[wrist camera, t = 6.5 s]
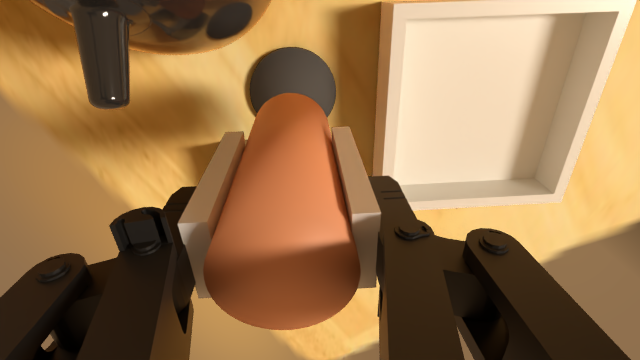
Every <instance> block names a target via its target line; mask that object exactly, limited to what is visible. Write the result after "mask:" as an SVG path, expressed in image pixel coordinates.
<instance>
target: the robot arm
mask: <svg viewBox="0 0 640 360" xmlns="http://www.w3.org/2000/svg"><path fill="white" fill-rule="evenodd" d="M332 145H333V149H334V154H335V158H336V163H337V167H338V172H339V176H340V181H341V185H342V190H343V194H344V199H345V204H346V208H347V213H348V217H349V222H350V226H351V231H352V234H353V236H354V240H355V244H356V248H357V252H358V257H359V261H360V269H361V274H360V281H359V285H358V288H373V287H376V280H377V278H378V281H379V285H380V290H379V303H378V317H379V349H380V360H465V359H464V355H463V351H462V347H461V343H460V338H459V334H458V330H457V327H458V329H459V331H460V333H461V335H462V337H463V339H464V341H465V342H466V344H467V346H468V348H469V350H470V352H471V354H472V356H473V358H474V359H475V360H631V359H630V358H629V357H628V356H627V355H626V354H625V353H624V352H623V351H622V350H621V349H620V348H619V347H618V346H617V345H616V344H615V343H614V342H613V340H612V339H610V337H609V336H608V335H607V334H606V333H605V332H604V331H603V330H602V329H601V328H600V327H599V326H598V325H597V324H596V323H595V322H594V321H593V320H592V318H591V317H590V316H589V315H588V314H587V313H586V312H585V311H584V310H583V309H582V308H581V307H580V306H579V305H578V304H577V303H576V302H575V301H574V300H573V299H572V297H571V296H570V295H569V294H568V293H567V292H566V291H565V290H564V289H563V288H562V287H561V286H560V285H559V284H558V283H557V282H556V281H555V280H554V279H553V277H552V276H551V275H549V273H548V272H547V271H546V270H545V269H544V268H543V267H542V266H541V265H540V264H539V263H538V262H537V261H536V260H535V259H534V258H533V256H532V255H531V254H530V253H529V252H528V251H527V250H526V249H525V248H524V247H523V246H522V245H521V244H520V243H519V242H518V241H517V240H516V239H514V238H513V237H512V236H510V235H508V234H506V233H504V232H502V231H498V230H494V229H485V228H480V229H476V230H472V231H471V232H469V233H468V234H467V237H466V241H459V240H453V239H447V238H442V237H439V236H436V235H434V232H433V230H432V229H431V227H430V226H428V225H427V224H426V223H425V222H422V221H420V220H417V218H416V216H415V214H414V213H413V211H412V209H411V207H410V205H409V203H408V201H407V199H406V198H405V195H404V193H403V192H402V189H401V187H400V185H399V183H398V182H397V181H396V180H394V179H393V178H391V177H390V176H389V175H388V176H369V177H368V176H367V173H366V170H365V168H364V165H363V162H362V159H361V157H360V154H359V151H358V149H357V146H356V143H355V140H354V138H353V135H352V132H351V130H350V127H349V126H348V127H332ZM244 149H245V139H244V133H243V131H242V132H225V134H224V136H223V138H222V140H221V142H220V144H219V146H218V147H217V149H216V151H215V153H214V155H213V157H212V159H211V161H210V163H209V165H208V166H207V168H206V170H205V172H204V174H203V176H202V178H201V180H200V182H199V184H198V186H195V187H182V188H180V189H179V190H178V191H176V192H175V193H174V194H172V195H171V197H170V198H169V200H168V201H167V203H166V205H165V206H164V208H163V209H160V208H155V207H143V208H139V209H134V210H131V211H129V212H126V213H124V214H122V215H120V216H119V217H118V218H116V219H115V220H114V221H113V222H112V223H111V224H110V229H111V231H112V234H113V236H114V239H115V241H116V244H117V246H118V249H119V251H120V252H119V254H118V257H117V258H114V259H110V260H107V261H103V262H99V263H95V264H91V265H87V263H86V261H85V258H84V257H83V256H81V255H80V254H74V253H68V254H61V255H57V256H54V257H50V258H48V259H46V260H44V261H42V262H41V263H39V264H37V265H35V266H34V267H33V268H32V269H30V270H29V271H28V272H26V273H25V274H24V275H23V276H22V277H21V278H20V279H19V280H18V281H17V282H16V283H15V284H14V285H13V286H12V287H11V288H10V289H9V290H8V291H7V292H6V293H5V294H4V295H3V296H2V297H0V360H189V355H190V344H191V333H192V323H193V322H192V321H193V312H194V311H193V304H192V301H191V298H190V297H191V295H192V292H193V289H194V286H195V287H196V291H197V294H198V298H212V297H211V296H210V294H209V292H208V290H207V287H206V285H205V281H204V276H203V267H204V261H205V258H206V255H207V252H208V249H209V246H210V244H211V241H212V238H213V235H214V232H215V230H216V227H217V224H218V221H219V219H220V216H221V213H222V210H223V207H224V205H225V202H226V199H227V196H228V194H229V191H230V188H231V185H232V182H233V180H234V177H235V174H236V171H237V169H238V166H239V163H240V160H241V157H242V155H243V152H244ZM49 334H50V335H51V336H52V338H53V339H54V341H53V342H52V343H51V345H50V346H49V347H48V348H47V349H46V350H44V349H43V348H42V347H41V344H42V343H43V342H44V341H45V339H46V338H47V337H48V335H49Z"/></svg>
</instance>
